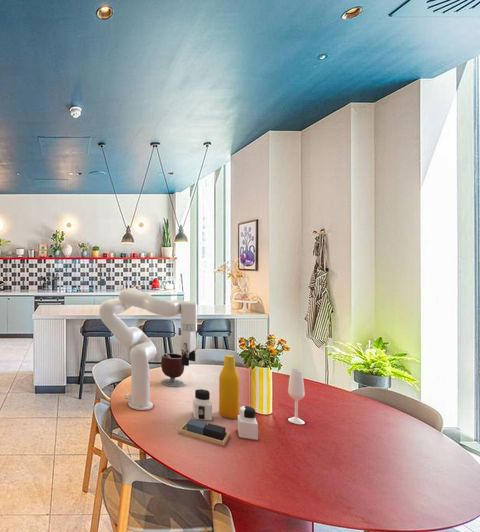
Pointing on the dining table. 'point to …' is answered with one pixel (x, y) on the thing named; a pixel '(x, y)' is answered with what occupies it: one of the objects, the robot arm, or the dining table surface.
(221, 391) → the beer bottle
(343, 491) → the dining table surface
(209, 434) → the pad
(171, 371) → the mate gourd
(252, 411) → the medicine bottle
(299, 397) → the champagne flute
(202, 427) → the blue block
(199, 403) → the container
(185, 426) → the wooden tray
